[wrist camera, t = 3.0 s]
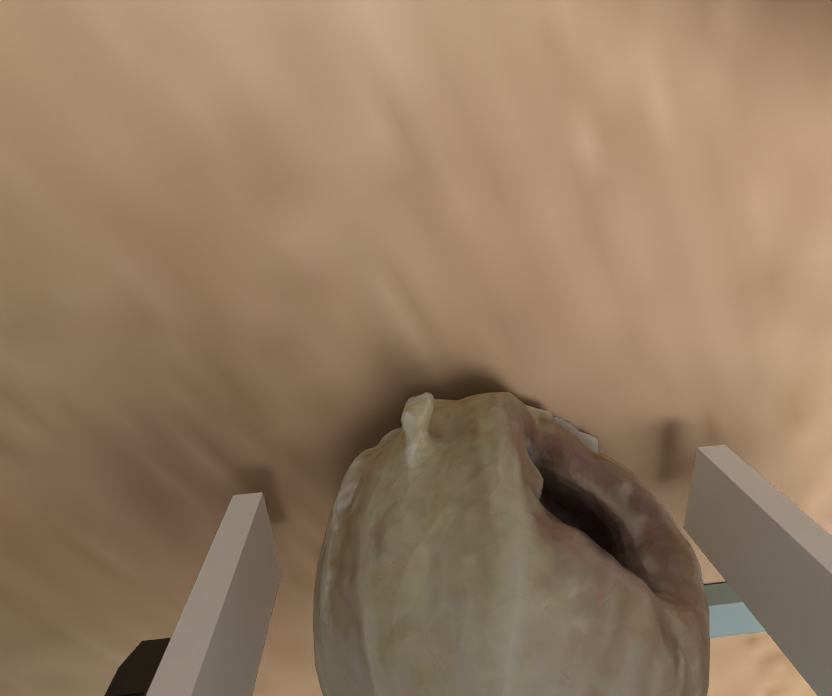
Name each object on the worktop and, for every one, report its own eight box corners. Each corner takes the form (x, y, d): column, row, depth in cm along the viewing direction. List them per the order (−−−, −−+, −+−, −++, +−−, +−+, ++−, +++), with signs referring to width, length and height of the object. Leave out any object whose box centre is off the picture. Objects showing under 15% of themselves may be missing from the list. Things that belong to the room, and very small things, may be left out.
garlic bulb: (547, 497, 18) (743, 875, 11) (321, 547, 17) (371, 1032, 9) (617, 286, 12) (1158, 808, 5) (273, 331, 11) (310, 1220, 3)
